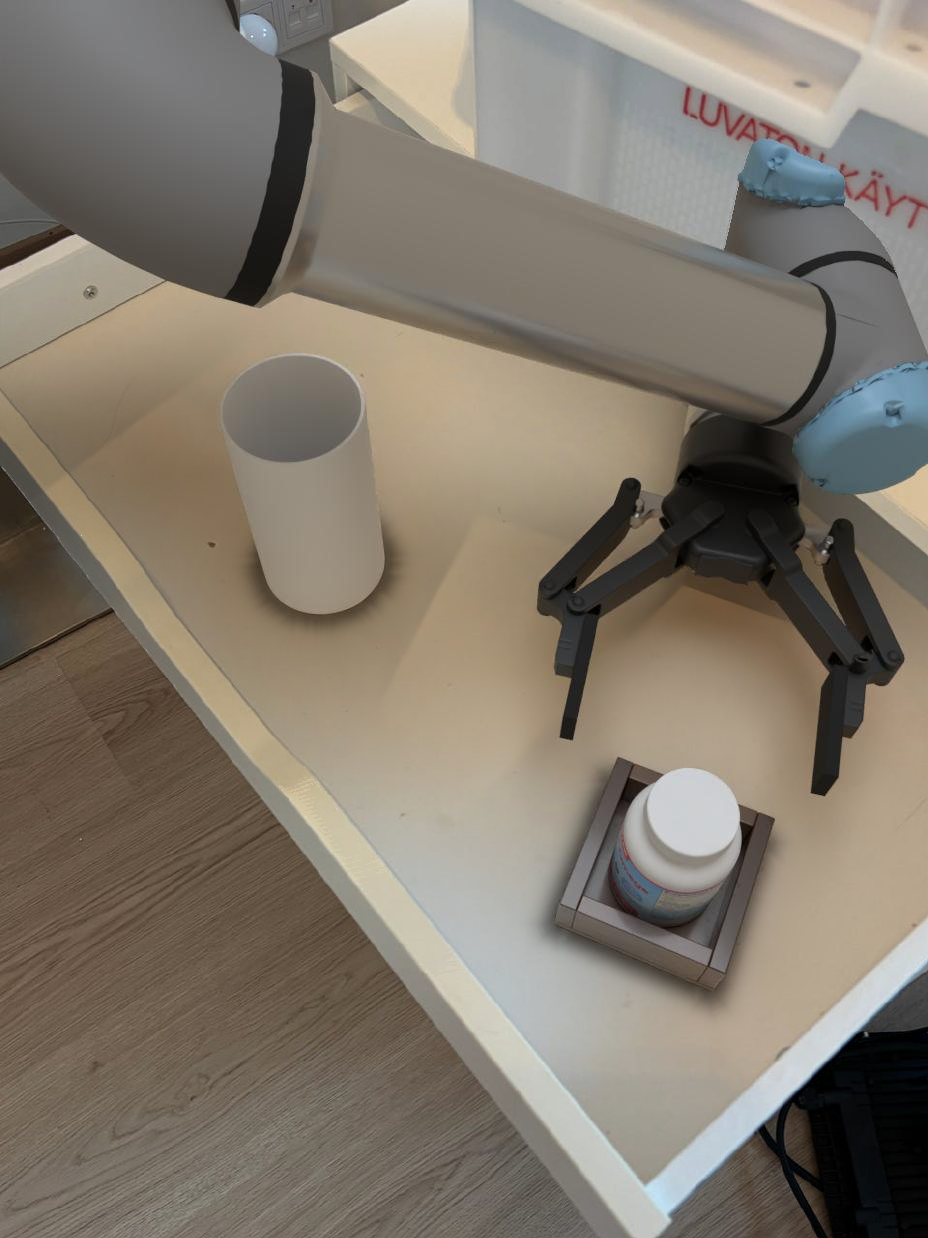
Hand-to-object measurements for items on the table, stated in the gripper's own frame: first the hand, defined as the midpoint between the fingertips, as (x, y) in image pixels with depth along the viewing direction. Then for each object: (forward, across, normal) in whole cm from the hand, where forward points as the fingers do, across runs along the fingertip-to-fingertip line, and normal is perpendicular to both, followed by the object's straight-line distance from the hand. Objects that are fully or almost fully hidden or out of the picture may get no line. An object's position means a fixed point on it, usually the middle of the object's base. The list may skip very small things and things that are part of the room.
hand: (694, 757), depth 60 cm
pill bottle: (+4, 0, -9) cm, 10 cm away
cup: (-13, +26, -10) cm, 30 cm away
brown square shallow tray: (+4, 0, -9) cm, 10 cm away
